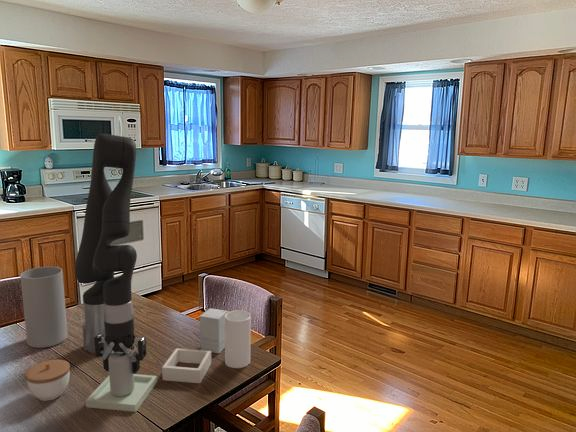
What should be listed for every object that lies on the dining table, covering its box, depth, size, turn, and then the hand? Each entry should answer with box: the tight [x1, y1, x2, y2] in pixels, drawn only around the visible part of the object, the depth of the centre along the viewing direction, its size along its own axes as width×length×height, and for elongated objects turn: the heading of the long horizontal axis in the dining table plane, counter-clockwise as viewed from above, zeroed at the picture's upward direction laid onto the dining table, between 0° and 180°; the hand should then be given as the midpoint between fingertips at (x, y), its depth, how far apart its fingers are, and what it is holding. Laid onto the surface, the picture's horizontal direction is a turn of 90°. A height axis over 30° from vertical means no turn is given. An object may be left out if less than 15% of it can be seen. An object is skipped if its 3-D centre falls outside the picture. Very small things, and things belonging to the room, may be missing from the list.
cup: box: [224, 309, 252, 369], centre depth 139 cm, size 8×8×16 cm
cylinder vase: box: [19, 266, 69, 349], centre depth 149 cm, size 12×12×25 cm
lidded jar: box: [25, 359, 71, 402], centre depth 121 cm, size 11×11×9 cm
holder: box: [161, 348, 212, 384], centre depth 134 cm, size 12×12×4 cm
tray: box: [85, 373, 158, 413], centre depth 122 cm, size 14×14×2 cm
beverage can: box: [108, 348, 135, 397], centre depth 121 cm, size 6×6×12 cm
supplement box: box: [199, 307, 229, 354], centre depth 148 cm, size 7×7×13 cm
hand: (122, 371), depth 121 cm, fingers open, 7 cm apart
